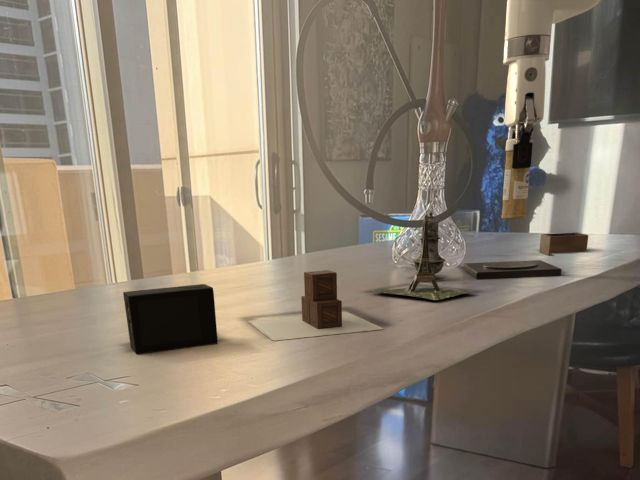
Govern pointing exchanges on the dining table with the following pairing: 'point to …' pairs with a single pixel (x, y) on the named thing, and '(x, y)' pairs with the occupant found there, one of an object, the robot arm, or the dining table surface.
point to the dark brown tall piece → (431, 248)
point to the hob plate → (511, 269)
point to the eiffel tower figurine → (424, 278)
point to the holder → (563, 243)
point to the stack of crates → (315, 313)
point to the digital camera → (171, 318)
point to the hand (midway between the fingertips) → (517, 167)
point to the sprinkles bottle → (514, 187)
